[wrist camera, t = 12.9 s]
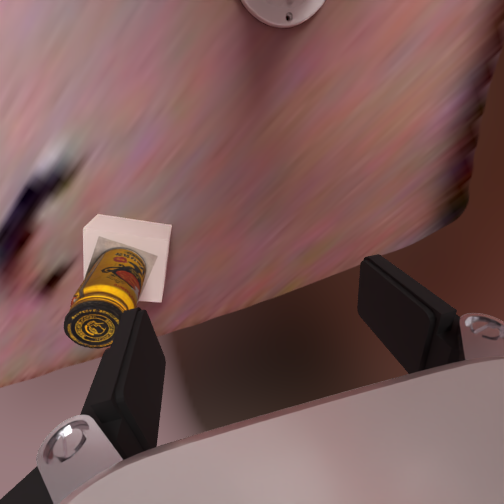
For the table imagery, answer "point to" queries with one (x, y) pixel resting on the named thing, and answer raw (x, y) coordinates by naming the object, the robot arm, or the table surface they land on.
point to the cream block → (135, 235)
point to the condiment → (107, 292)
